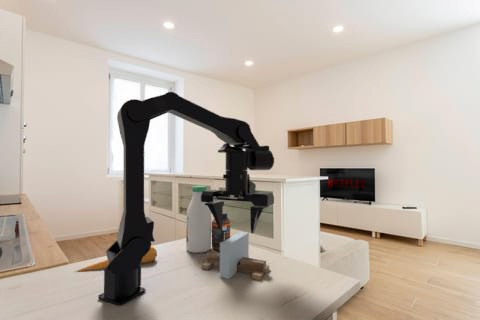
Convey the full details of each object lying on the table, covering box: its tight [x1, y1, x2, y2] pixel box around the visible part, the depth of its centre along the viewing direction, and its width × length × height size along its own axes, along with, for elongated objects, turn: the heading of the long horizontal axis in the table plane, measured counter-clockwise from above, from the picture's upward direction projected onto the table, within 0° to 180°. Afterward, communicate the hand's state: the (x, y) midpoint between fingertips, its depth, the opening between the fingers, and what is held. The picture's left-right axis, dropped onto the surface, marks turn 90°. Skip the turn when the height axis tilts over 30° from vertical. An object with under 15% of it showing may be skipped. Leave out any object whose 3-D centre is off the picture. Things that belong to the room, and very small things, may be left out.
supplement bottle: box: [211, 211, 231, 251], centre depth 83 cm, size 6×6×11 cm
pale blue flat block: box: [219, 231, 250, 280], centre depth 67 cm, size 12×2×8 cm, turn 155°
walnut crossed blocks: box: [201, 251, 270, 281], centre depth 66 cm, size 7×16×3 cm, turn 65°
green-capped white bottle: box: [185, 185, 212, 254], centre depth 82 cm, size 8×8×20 cm
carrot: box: [76, 245, 158, 272], centre depth 68 cm, size 20×4×4 cm, turn 115°
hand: (236, 230), depth 67 cm, fingers open, 9 cm apart
